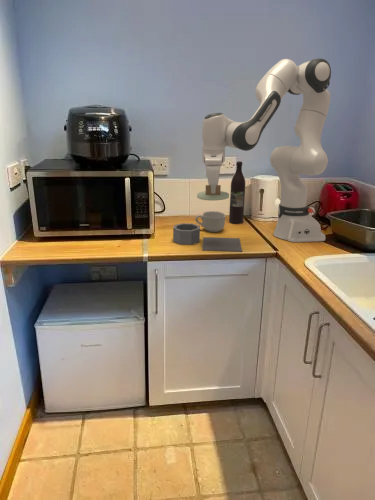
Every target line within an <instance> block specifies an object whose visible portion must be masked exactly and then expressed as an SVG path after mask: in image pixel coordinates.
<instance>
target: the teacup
mask: <svg viewBox="0 0 375 500" xmlns="http://www.w3.org/2000/svg"><path fill="white" fill-rule="evenodd" d="M194 218H195V222H196V223H197V225H199V226H200V227H201V228H204V229H205V230H206V231H207V232H209V233H219V232H221V231H222V230H223V229H224V228H225V225H226V213H225V212H221V211H215V210H208V211H205V212H202V214H197V215H196V216H195V217H194ZM198 218H201V221H202V222H200V221H199V219H198Z"/></svg>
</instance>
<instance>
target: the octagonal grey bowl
mask: <svg viewBox="0 0 375 500" xmlns="http://www.w3.org/2000/svg"><path fill="white" fill-rule="evenodd" d="M172 231H173V232H172V233H173V234H172V236H173V237H172V239H173V240H172V242H173V243H175V244H178V245H184V246H186V245H187V246H192V245H196V244H198V243H199V244H200V241H201V225H200V224H196V223H185V222H183V223H177V224H175V225H173V228H172Z"/></svg>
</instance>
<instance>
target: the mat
mask: <svg viewBox="0 0 375 500" xmlns="http://www.w3.org/2000/svg"><path fill="white" fill-rule="evenodd" d="M201 246H202V247H201V251H202V252H203V251H205V252H232V253H233V252H234V253H236V252H239V253H242V252H243V248H242V244H241V239H240V237H211V236H210V237H207V236H203V238H202V245H201Z"/></svg>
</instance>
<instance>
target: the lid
mask: <svg viewBox="0 0 375 500" xmlns="http://www.w3.org/2000/svg"><path fill="white" fill-rule="evenodd" d="M221 189H222V188H221V185H220V184H218V185H216V192H215V193H214V194H212V193H211V185H209V184H206V185H205V190H204V191H200V192H198V193H196V198H197V199H198V200H203V201H223V200H227V199H229V198H230V193H229V192H227V191H223V190H221Z"/></svg>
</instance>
